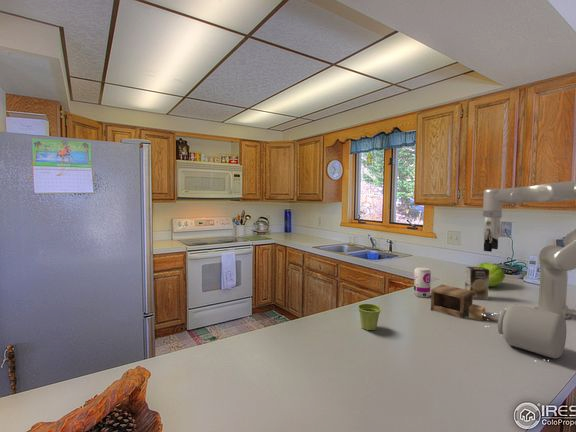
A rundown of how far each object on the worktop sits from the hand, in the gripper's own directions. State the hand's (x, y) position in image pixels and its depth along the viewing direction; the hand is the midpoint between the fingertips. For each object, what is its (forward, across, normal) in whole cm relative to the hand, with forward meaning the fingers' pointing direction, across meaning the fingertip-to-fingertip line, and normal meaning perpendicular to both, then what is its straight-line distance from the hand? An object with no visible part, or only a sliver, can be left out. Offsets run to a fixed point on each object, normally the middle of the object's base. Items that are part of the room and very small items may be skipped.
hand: (490, 250), depth 148 cm
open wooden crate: (+28, -18, +10) cm, 35 cm away
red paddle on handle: (+28, -18, -6) cm, 34 cm away
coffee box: (+28, +12, +9) cm, 32 cm away
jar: (+29, -38, -19) cm, 51 cm away
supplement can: (+28, -6, +30) cm, 42 cm away
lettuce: (+28, +40, +11) cm, 50 cm away
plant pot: (+28, -63, +26) cm, 74 cm away
